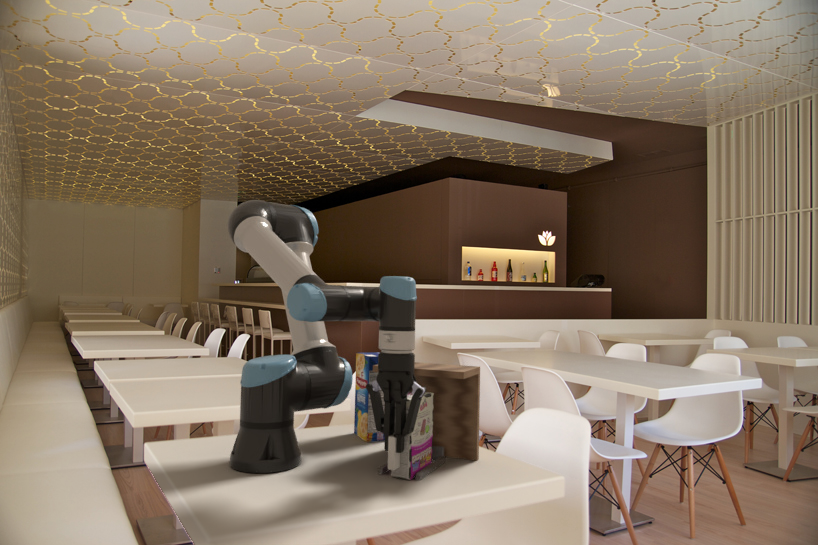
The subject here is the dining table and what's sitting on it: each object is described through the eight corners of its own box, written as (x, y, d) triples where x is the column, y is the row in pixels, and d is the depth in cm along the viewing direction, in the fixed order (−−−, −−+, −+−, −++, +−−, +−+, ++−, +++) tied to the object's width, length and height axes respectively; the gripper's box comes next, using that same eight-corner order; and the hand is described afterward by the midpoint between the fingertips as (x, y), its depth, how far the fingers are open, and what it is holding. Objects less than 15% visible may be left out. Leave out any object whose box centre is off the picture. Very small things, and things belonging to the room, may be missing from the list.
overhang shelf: (352, 469, 123) (355, 369, 124) (393, 447, 142) (395, 360, 143) (448, 484, 114) (450, 376, 115) (478, 459, 133) (480, 366, 134)
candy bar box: (412, 463, 128) (415, 390, 128) (432, 467, 125) (435, 392, 126) (388, 476, 118) (391, 396, 118) (410, 481, 115) (413, 399, 116)
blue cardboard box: (366, 442, 147) (369, 356, 148) (353, 433, 157) (356, 352, 158) (391, 440, 149) (393, 356, 150) (377, 431, 159) (379, 352, 161)
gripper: (360, 350, 116) (356, 468, 115) (418, 354, 111) (415, 477, 110) (376, 348, 123) (374, 459, 122) (432, 351, 118) (430, 468, 116)
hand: (393, 468), depth 116 cm, fingers closed
